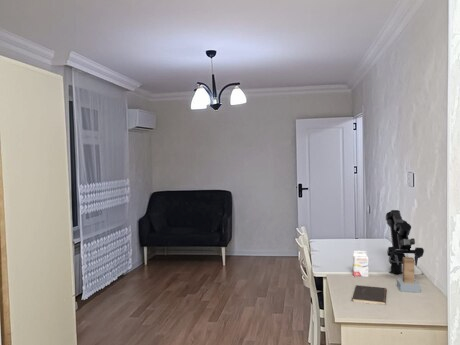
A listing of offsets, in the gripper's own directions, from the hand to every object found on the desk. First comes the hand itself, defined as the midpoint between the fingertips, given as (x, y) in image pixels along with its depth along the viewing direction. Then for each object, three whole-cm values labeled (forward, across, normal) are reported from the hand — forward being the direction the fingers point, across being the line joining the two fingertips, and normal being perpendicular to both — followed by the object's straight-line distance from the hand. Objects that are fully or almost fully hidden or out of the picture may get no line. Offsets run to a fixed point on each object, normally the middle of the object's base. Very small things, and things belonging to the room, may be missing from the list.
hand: (407, 265), depth 252 cm
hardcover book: (+22, -22, -3) cm, 31 cm away
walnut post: (+8, 0, +4) cm, 9 cm away
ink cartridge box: (-6, -22, +24) cm, 34 cm away
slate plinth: (+11, 0, +7) cm, 13 cm away
